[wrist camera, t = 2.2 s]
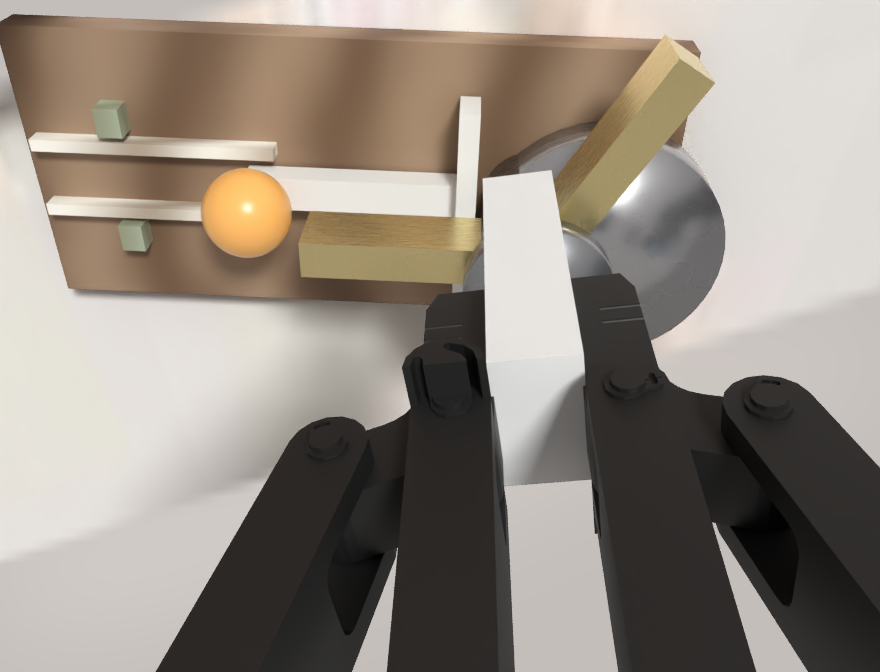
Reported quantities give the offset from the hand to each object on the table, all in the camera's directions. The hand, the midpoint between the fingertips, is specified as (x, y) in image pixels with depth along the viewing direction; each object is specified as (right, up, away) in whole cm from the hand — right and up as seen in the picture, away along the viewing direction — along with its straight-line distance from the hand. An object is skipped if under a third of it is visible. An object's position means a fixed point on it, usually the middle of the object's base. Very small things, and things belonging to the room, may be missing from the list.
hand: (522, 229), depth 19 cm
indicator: (-6, +4, +16) cm, 18 cm away
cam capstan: (+3, +5, +15) cm, 16 cm away
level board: (-6, +5, +18) cm, 19 cm away
